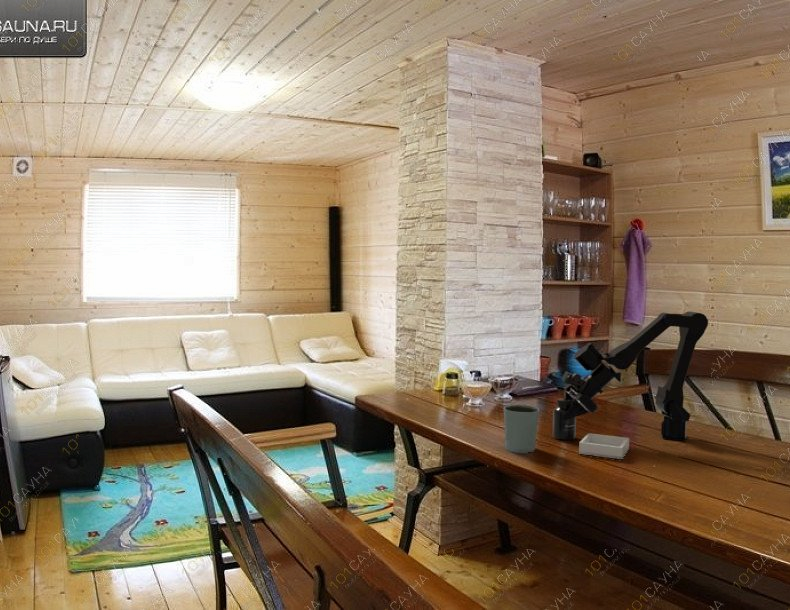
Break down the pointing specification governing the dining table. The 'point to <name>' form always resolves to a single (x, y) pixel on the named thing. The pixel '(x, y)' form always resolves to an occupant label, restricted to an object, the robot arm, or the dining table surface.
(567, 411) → the robot arm
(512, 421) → the grey-green cup
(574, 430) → the supplement bottle
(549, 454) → the dining table surface
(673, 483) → the dining table surface
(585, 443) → the tray
